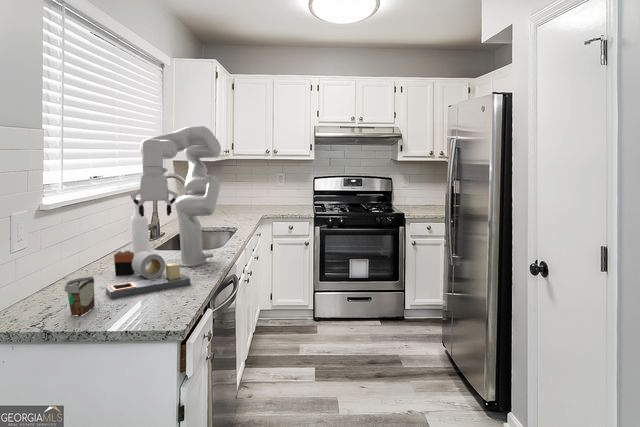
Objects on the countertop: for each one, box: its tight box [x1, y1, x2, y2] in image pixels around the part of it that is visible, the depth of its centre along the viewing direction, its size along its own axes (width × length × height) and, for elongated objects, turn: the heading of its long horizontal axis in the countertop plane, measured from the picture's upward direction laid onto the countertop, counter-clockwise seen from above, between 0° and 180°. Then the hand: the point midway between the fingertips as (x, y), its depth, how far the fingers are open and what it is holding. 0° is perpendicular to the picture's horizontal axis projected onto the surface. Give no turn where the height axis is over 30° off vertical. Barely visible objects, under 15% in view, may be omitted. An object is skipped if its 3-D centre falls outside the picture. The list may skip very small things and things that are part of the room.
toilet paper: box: [132, 251, 166, 280], centre depth 189 cm, size 10×10×10 cm
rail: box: [105, 273, 192, 300], centre depth 170 cm, size 28×9×3 cm, turn 124°
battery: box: [113, 250, 136, 276], centre depth 194 cm, size 4×7×10 cm, turn 91°
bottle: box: [129, 198, 151, 263], centre depth 218 cm, size 8×8×30 cm
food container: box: [64, 276, 96, 316], centre depth 145 cm, size 12×6×10 cm, turn 5°
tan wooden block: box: [165, 262, 181, 281], centre depth 175 cm, size 4×4×8 cm
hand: (155, 215), depth 179 cm, fingers open, 9 cm apart
